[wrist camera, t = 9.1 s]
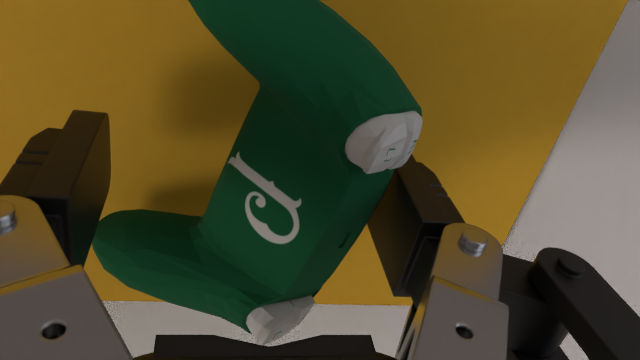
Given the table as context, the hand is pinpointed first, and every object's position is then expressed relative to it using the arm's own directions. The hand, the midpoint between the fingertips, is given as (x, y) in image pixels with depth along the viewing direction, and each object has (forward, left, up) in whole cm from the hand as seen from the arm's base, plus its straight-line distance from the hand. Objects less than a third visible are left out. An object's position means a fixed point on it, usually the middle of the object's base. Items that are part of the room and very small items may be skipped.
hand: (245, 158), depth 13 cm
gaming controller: (0, 0, -1) cm, 1 cm away
